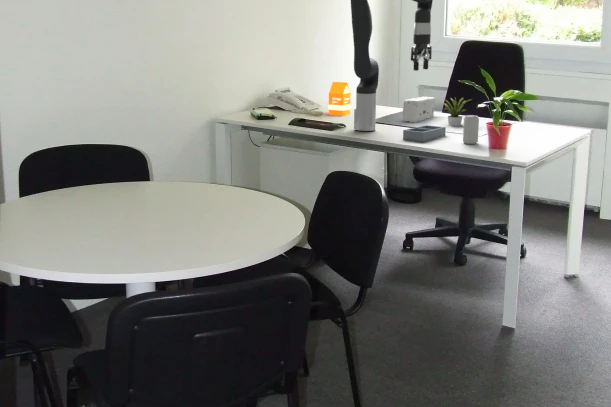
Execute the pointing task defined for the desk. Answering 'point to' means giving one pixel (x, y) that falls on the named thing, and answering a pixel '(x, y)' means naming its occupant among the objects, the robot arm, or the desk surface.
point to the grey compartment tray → (423, 133)
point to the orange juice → (339, 99)
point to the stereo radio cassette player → (418, 108)
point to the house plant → (455, 112)
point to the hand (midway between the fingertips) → (420, 69)
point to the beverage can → (470, 129)
